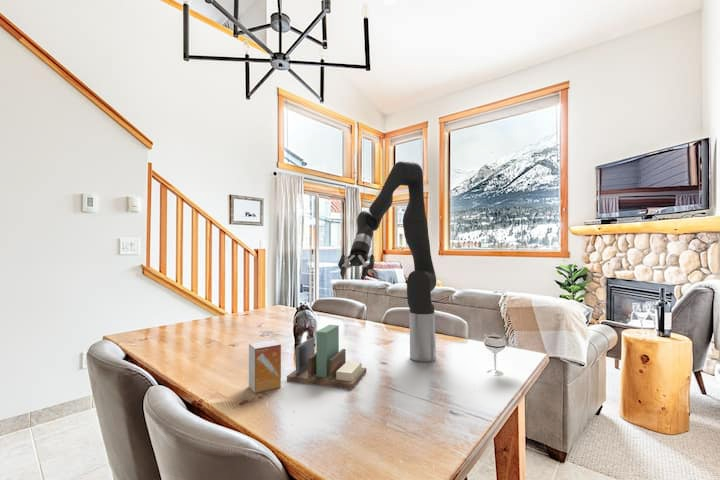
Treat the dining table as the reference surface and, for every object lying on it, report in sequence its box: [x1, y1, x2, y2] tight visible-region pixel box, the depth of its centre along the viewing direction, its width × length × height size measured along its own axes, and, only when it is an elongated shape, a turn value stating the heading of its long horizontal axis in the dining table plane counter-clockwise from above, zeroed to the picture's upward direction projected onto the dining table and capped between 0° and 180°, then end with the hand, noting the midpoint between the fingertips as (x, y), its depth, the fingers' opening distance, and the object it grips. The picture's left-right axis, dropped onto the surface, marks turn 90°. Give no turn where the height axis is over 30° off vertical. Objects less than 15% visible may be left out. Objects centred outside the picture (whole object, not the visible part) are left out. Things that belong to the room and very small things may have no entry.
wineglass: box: [483, 333, 507, 376], centre depth 113 cm, size 7×7×12 cm
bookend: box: [295, 337, 315, 376], centre depth 114 cm, size 1×11×9 cm, turn 162°
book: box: [315, 324, 340, 378], centre depth 112 cm, size 4×10×14 cm, turn 161°
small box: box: [248, 339, 282, 394], centre depth 104 cm, size 8×6×13 cm
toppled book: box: [336, 360, 363, 381], centre depth 109 cm, size 5×10×2 cm, turn 162°
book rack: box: [286, 348, 367, 390], centre depth 111 cm, size 22×14×8 cm, turn 72°
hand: (352, 276), depth 133 cm, fingers open, 8 cm apart
